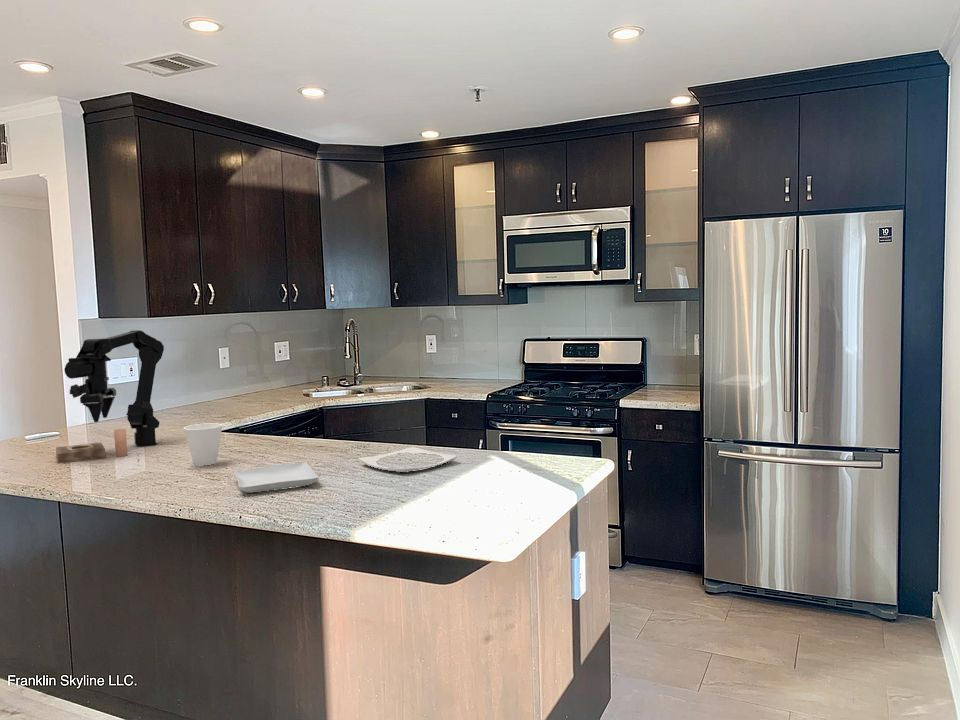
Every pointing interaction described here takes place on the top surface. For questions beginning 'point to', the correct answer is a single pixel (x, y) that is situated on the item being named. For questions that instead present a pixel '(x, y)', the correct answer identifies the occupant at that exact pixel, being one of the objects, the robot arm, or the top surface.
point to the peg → (120, 442)
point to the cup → (203, 442)
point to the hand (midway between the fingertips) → (100, 419)
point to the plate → (372, 460)
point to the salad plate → (275, 477)
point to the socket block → (80, 452)
